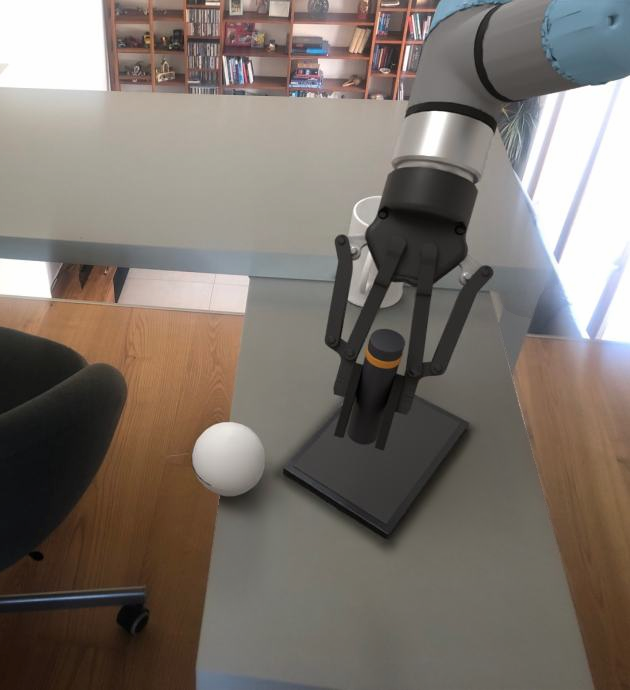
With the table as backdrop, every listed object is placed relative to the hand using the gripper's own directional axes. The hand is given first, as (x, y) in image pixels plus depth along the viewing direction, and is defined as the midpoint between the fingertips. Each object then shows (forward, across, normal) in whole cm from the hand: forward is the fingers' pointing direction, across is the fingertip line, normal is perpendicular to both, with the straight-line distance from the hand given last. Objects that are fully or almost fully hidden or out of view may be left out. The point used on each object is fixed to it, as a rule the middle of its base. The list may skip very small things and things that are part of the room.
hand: (359, 441), depth 60 cm
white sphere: (+9, +13, -8) cm, 18 cm away
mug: (-16, +5, -33) cm, 37 cm away
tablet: (+2, -2, -15) cm, 16 cm away
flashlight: (0, 0, -5) cm, 5 cm away
